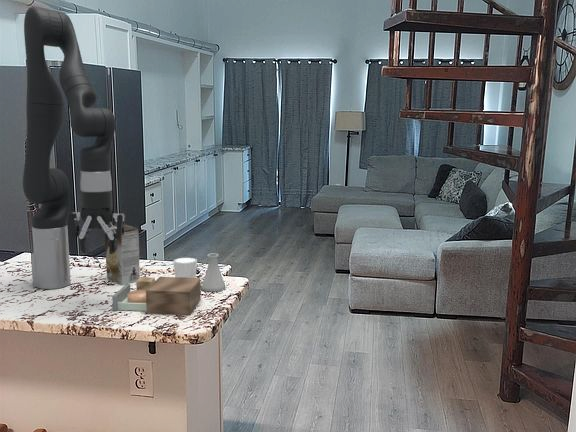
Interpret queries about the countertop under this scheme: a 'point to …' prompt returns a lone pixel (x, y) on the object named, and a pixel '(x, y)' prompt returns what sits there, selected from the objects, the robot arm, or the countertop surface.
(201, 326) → the countertop surface
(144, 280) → the olive brown cube
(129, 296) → the coaster
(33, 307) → the countertop surface
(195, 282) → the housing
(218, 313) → the countertop surface
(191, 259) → the white cup
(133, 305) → the tray
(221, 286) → the flask
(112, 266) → the coffee box
